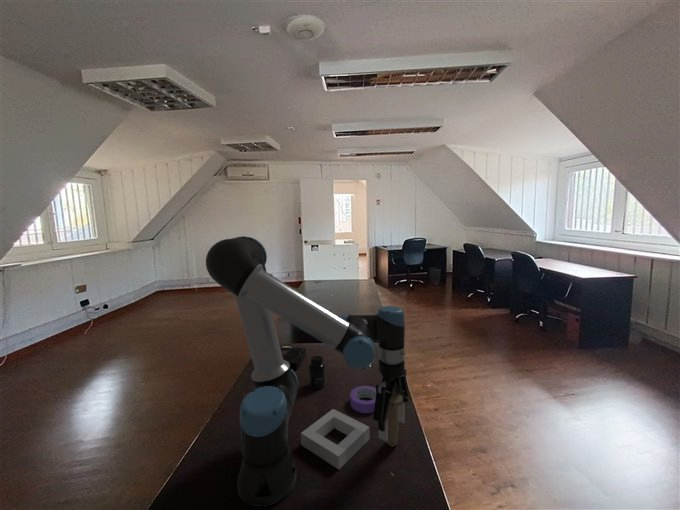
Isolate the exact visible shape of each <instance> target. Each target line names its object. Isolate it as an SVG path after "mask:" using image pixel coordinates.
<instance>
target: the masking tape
mask: <svg viewBox="0 0 680 510" xmlns="http://www.w3.org/2000/svg"><path fill="white" fill-rule="evenodd" d="M363 398H369V399H370V400H364V399H363ZM375 399H376V387H374V386H370V385H361V386H357V387H355V388H353V389H351V391H350V395H349V403H350V407H351V408H352V409H353V410H354V411H355V412H358V413H361V414H372V413H373V414H374V407H375Z"/></svg>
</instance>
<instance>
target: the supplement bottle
mask: <svg viewBox="0 0 680 510" xmlns="http://www.w3.org/2000/svg"><path fill="white" fill-rule="evenodd" d="M323 360H324V359H323V356H322V355H313V356H311V358H310V364H309V365H308V386H309V388H310V389H312V390H321V389H323V388H325V386H326V364H325V363H324V361H323Z"/></svg>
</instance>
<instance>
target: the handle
mask: <svg viewBox="0 0 680 510" xmlns="http://www.w3.org/2000/svg"><path fill="white" fill-rule="evenodd" d="M402 403H403V397H402V396H401V395H399V394H396V393H395V392H394V393H393V396H392V397H391V399H390V404H389V408H388V412H387V417H386V419H388V441H387V442H386V445H388V446H389V447H391V448H393V447H397V446H398V443H399V442H398V440H399V433H400V432H399V431H400V430H399V429H400V428H399V427H400V426H399V425H400V424H399V423H400V422H399V421H398V406H400V405H402Z"/></svg>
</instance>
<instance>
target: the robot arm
mask: <svg viewBox="0 0 680 510" xmlns="http://www.w3.org/2000/svg"><path fill="white" fill-rule="evenodd" d="M267 260H268V256H267V250H266V248H265V246H264V245H263V244H262V243H261V242H260V241H259V240H258V239H257V238H253V237H250V236H246V235H245V236H244V235H243V236H242V235H241V236H236V237H233V238H225V239H222V240H219V241H217V242H215V243H214V244H213V245H212V246H211V247H210V249H208V252H207V254H206V257H205V267H206V270H207V272H208V275H209V276H210V278H212V280H213V281H215V283H216V284H217V285H219V286H221V287H222V288H224V289H225V290H227V291H228V292H229V293H232V294H234V295H235V300H236V304H237V307H238V310H239V314H240V320H241V323H242V326H243V329H244V333H245V338H246V341H247V346H248V349H249V353H250V356H251V359H252V364H253V368H254V369H253V371H252V373H251V376H250V379H251V382H252V385H253V391H250V392H248V394H246V395H245V397H243V399H242V401H241V403H240V407H239V417H238V418H239V419H238V421H239V427H240V437H241V440H240V441H241V452H242V460H241V465H240V469H239V473H238V476H237V479H236V480H237V481H236V483H237V495H238V497H239V499H240V498H241V499H240V500H241V501H242V502H243V503H244V502H245V503H247V504H250V505H258V506H259V505H260V506H264V505H269V504H272V503H274V502H277V501H279V500H280V499H282V498H284V497H285V496H286V495H287V496H289V495H290V493H291V492H292V491H293V489H294V488H295V485H296V483H297V466H296V463H295V461H294V458H293V455H292V453H291V451H290V448H289V432H288V431H289V429H288V426H289V420H290V417H291V413H292V411H293V407H294V403H295V400H296V398H297V395H298V391H299V390H298V389H299V380H298V377H297V374H296V372H295V370H292V369H291V368H290V364H289V362H287V361H285V360H283V357H282V353H281V349H280V347H281V345H280V342H279V338H278V334H277V330H276V326H275V322H274V318H273V314H275V315H276V316H278V317H280V318H281V319H283V320H285V321H286V322H288V323H289V324H291V325H293V326H295V327H296V328H298V329H299V330H301V331H303V332H305V333H307V334H308V335H310V336H311V337H312V338H315V339H317V340H318V341H320V342H321V343H323V344H325V345H326V346H328V347H329V348H331V349H333V350H335V351H336V352H338V353H340V354H341V355H342V356H343V359H344V361H345V362H346V364H347V365H348V366H349V367H351V368H352V369H356V370H361V369H362V370H363V369H365V368H367V367H369V366H370V365H371V364H372V363H374V359H375V356H376V355H375V354H376V352H375V348H376V347H375V343H374V342H378V370H379V371H378V372H379V373H380V374H381V376H382V379H381V384H376V386H375V388H376V399H375V407H374V412H373V416H372V419H373V421H375V422H377V423H378V425H377V426H378V428H377V430H378V431H377V432H378V438H379V439H380V440H381V441H384V442H386V443H387V441H388V419H386V417H387V412H388V408H389V404H390V399H391V397H392V396H393V393H396V394H399V395H401V396H402V397H403V403H402V405H400V406H398V423H402V424H405V412H406V411H405V404H406V403H408V402H409V399H408V397H409V389H408V383H407V381H408V380H407V369H405V368H406V366H405V365H406V363H405V355H406V352H405V344H406V343H405V339H406V338H405V332H406V324H405V323H406V322H405V312H404V311H405V310H403V309H402V308H401V307H399V306H395V305H394V306H393V305H386V306H381V307H379V308H378V312H377V313H376V314H346V315H338V314H336V313H334V312H333V311H331V310H330V309H328V308H326V307H324V306H323V305H321V304H320V303H319V302H317V301H315V300H313V299H311V298H310V297H308V296H306V295H305V294H303V293H301V292H300V291H298V290H297V289H295V288H294V287H292V286H290V285H289V284H287V283H285V282H284V281H282V280H281V279H278V278H277V277H275V276H274V275H272V274H270V273H269V272H267V267H266V263H267ZM272 313H273V314H272ZM287 496H286V497H287ZM286 497H285V498H286ZM285 498H284V499H285ZM245 503H244V504H245ZM247 504H246V505H247Z"/></svg>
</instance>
